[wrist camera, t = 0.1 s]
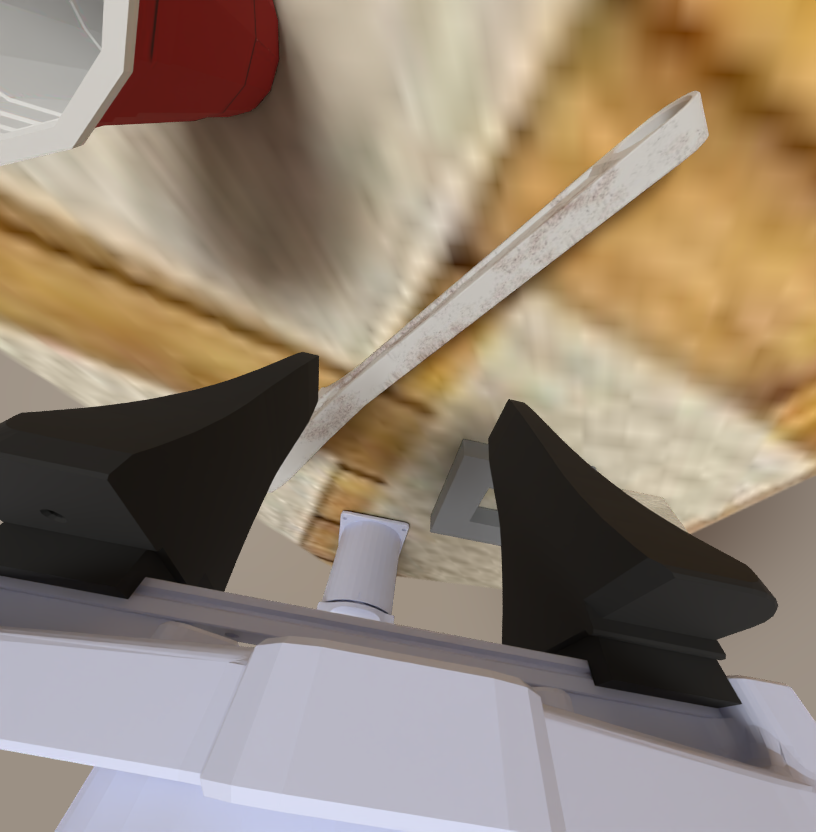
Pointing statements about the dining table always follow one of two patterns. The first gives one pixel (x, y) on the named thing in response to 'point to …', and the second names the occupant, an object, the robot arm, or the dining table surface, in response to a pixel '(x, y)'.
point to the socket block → (467, 498)
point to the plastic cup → (127, 66)
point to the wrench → (510, 266)
